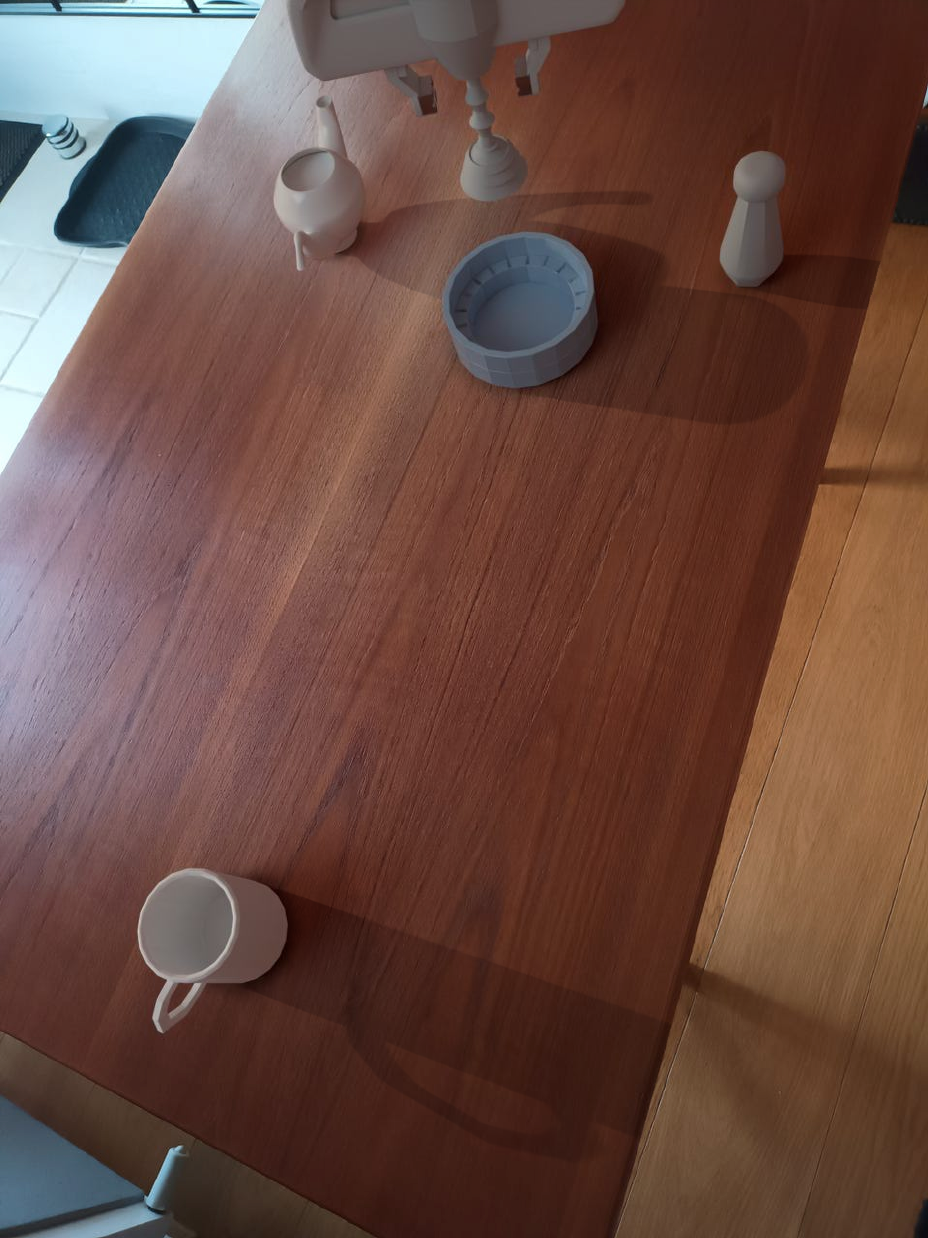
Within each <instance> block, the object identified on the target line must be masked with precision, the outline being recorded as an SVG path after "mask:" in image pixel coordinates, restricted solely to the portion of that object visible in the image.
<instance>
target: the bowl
mask: <svg viewBox="0 0 928 1238" xmlns="http://www.w3.org/2000/svg"><path fill="white" fill-rule="evenodd" d="M443 290H444V291H443V292H442V295H441V296H442V299H441V300H442V317H443V319H444V322H445V325H446V328H447V331H448V334H449V337H450V341H451V343H452V346H453V348H454V350H455V353H456V355H457V357H458V360H459V362H460V364H461V365H462V366H463V367H464V368H466V370H468V372H469V373H470V374H471V375H472V376H474V377H475V378H477V379H479V380H481V381H484V382H485V383H488V384H489V385H492V386H495V387H496V386H497V387H502V388H511V389H520V388H522V389H523V388H528V387H529V388H530V387H535V386H537V387H538V386H540V385H543V384H545V383H547V382H550V381H552V380H556V379H557V378H560V377H562V376H563V375H564V374H566V373H567V372H569V371H570V370H571V369H573V368H574V367H575V366H576V365H578V364H579V363H580V362H581V361H582V360H583V358H584V356H585V355H586V353H587V352H588V351H589V349H590V348H591V346H592V345H593V343H594V340H595V336H596V333H597V330H598V327H599V319H598V307H597V306H598V305H597V296H596V289H595V280H594V271H593V269H592V267H591V265H590V263H589V262H588V260H587V258H586V256H585V254H584V253H583V252H581V250H579V249H578V248H577V247H576V246H574V245H573V244H572V243H571V242H570V241H569V240H566V239H564V238H561V237H558V236H556V235H553V234H551V233H548V232H539V231H538V232H537V231H527V230H526V231H520V232H514V233H508V234H502V235H499V236H497V237H495V238H492V239H490V240H487V241H485V242H483V243H481V244H479V245H477V246H476V247H475V248H474V249H472V250H471V251H470V252H469V253H467V254H466V255H465V256H463V257H462V259H461V260H460V261H459V262H458V263H457V265H456V266H455V268H454V269H453V271H452V272H451V273H450V274H449V276H448V278H447V281H446V284H445V287H444V289H443Z"/></svg>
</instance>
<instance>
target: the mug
mask: <svg viewBox="0 0 928 1238" xmlns="http://www.w3.org/2000/svg"><path fill="white" fill-rule="evenodd" d="M288 923H289V922H288V919H287V913H286V909H285V905H284V904H283V903H282V901H281V899H280V897H279V895H277V893H275V892H274V891H273V889H271V888H270V887H269V886H268V885H266V884H263V883H261V882H259V881H256V880H253V879H249V878H244V877H240V876H237V875H231V874H229V873H223V872H219V871H216V870H213V869H212V870H211V869H207V868H200V867H199V868H198V867H196V868H195V867H188V868H185V869H181V870H178V871H175V872H172V873H171V874H169V875H168V876H167V877H165V878H164V879H161V881H159V882H158V883H157V885H155V887H154V888H153V889H152V890H151V892H150V893H149V894H148V896H147V897H146V900H145V902H144V904H143V906H142V908H141V911H140V913H139V918H138V925H137V939H138V940H137V941H138V948H139V951H140V952H141V955H142V957H143V959H144V962H145V965H147V966H148V967H149V968H150V969H151V970H152V971H153V972H154V974H156V976H157V977H160V978H162V979H164V980H166V982H165V984H164V986H163V987H162V989H161V991H160V992H159V995H158V996H157V999H156V1001H155V1005H154V1009H153V1012H152V1017H151V1019H152V1021H153V1023H154V1026H155V1028H156V1030H157V1032H158V1033H162V1034H165V1033H167V1031H169V1030H170V1029H171V1028H172V1027H174V1026H175V1025H177V1023H179V1022H180V1021H182V1020H183V1019H184V1018H186V1017H187V1015H188V1014H189V1012H190V1011H191V1010H192V1008H193V1007H194V1005H195V1004H196V1002H197V1001H198V999H199V998H200V996H201V995H202V993H203V991H204V989H205V987H206V985H207V984H243V983H244V984H245V983H247V982H250V981H254V980H256V979H258V978H259V977H261V976H263V975H264V974H265V973H267V972H268V971H270V970H271V968H272V967H273V966H274V965H275V963H276V962H277V961H278V960H279V958H280V957H281V954H282V951H283V950H284V948H285V945H286V942H287V935H288V926H289V924H288ZM180 983H181V984H193V985H192V986H191V989H190V991H189V992H188V993H187V994H186V996H185V998H184V999H183V1001H181V1004H179V1005H178V1006H177V1007H175V1008H174V1009H173V1010H171V1011H170V1012H169V1013H168V1010H169V1005H170V1002H171V999H172V996H173V994H174V992H175V990H176V989H177V987H178V985H179V984H180Z"/></svg>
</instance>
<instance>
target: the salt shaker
mask: <svg viewBox="0 0 928 1238" xmlns="http://www.w3.org/2000/svg"><path fill="white" fill-rule="evenodd" d="M786 172H787V171H786V164H785V162H784V160H783V159H782V157H781V156H779V155H777V154H776V153H774V152H772V151H766V150H759V151H754V152H750V153H748V154H746V155H744V156H743V157H742V158H740V160H739V161H738V163H737V164H736V165H735V168H734V171H733V179H732V183H733V184H732V187H733V190H734V192H735V194H736V195H737V198H736V201H735V204H734V207H733V210H732V213H731V215H730V219H729V222H728V225H727V228H726V230H725V233H724V237H723V240H722V243H721V244H720V245H721V246H720V252H719V263H720V265H721V267H722V269H723V270H724V273H725V274H726V275H727V277H728V278H729V279H730V280H731V281H732V282H733V283H734V284H735V285H736V286H737V288H741V287H744V288H746V287H747V288H750V287H751V288H754V287H759V286H760V285H761V284H763V283H764V282H765V281H766V280H767V279H769V278H770V276H772V275H773V274H774V273H775V272H776V270H777V269H778V268H779V266H780V265H781V263H782V262H783V259H784V239H783V234H782V226H781V219H780V213H779V212H780V211H779V206H778V197H777V196H778V195H779V194H780V192H781V190H782V189H783V188H784V186H785V182H786V174H787V173H786Z"/></svg>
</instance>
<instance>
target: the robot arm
mask: <svg viewBox="0 0 928 1238" xmlns="http://www.w3.org/2000/svg"><path fill="white" fill-rule="evenodd" d="M285 2H286V3H285V4H286V11H287V16H288V21H289V25H290V30H291V33H292V37H293V40H294V43H295V47H296V50H297V53H298V56H299V58H300V62H301V64H302V66H303V69H304V70H305V71H306V72H307V73H308V74H310V75H312V76H313V77H314V78H316V79H317V80H318V81H320V82H330V81H334V80H339V79H344V78H349V77H354V76H359V75H364V74H369V73H373V72H379V71H383V70H384V74H385V77H386V79H387V82H388V83H390V84H391V85H392V86H393V87H394V88H395V89H397V90H398V91H399V92H401V93H402V94H403V95H404V96H405V97H406V98H407V99H410V101H411V105H412V108H413V111H414V115H415V118H419V117H420V118H421V117H424V116H425V117H426V116H430V115H436V114H438V112H439V111H438V95H437V91H436V88H435V87H434V85H435V84H434V80H433V76H432V74H428V75H423V76H420V75H419V74H418V73H417V72H416V71H415V70H414V69H413V68H412V67H411V66H410V65H412V64H417V63H422V62H427V61H433V60H436V59H438V57H437V56H436V54H435V53H434V51H433V50H432V49H431V48H430V47H429V46H428V45H427V44H426V42H425V41H424V40H423V39H422V38H421V37H420V34H419V31H418V27H417V23H416V20H415V16H414V12H413V9H412V5H411V4H410V3H409V1H408V0H286V1H285ZM496 5H497V12H498V18H499V20H498V24H497V27H496V31H495V34H494V38H493V43H492V47H497V46H498V47H502V46H507V45H511V44H512V45H513V44H517V43H522V42H527V46H528V47H527V50H526V53H525V55H523V56H517V57H513V67H514V80H515V86H516V89H517V97H518V98H523V97H528V96H535V95H540V94H541V89H540V88H541V86H540V74H539V73H540V72H541V69H542V67H543V66H544V63H545V62H546V59H547V58H548V55H549V54H550V51H551V49H552V44H551V43H552V41H551V36H557V35H562V34H567V33H572V32H575V31H580V30H581V31H583V30H586V29H591V28H596V27H601V26H607V25H610V24H612V23H613V22H615V20H616V19H617V18H618V16H619V15H620V13H621V12H622V10H623V9H624V7H625V5H626V0H496ZM498 47H497V48H498Z"/></svg>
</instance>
